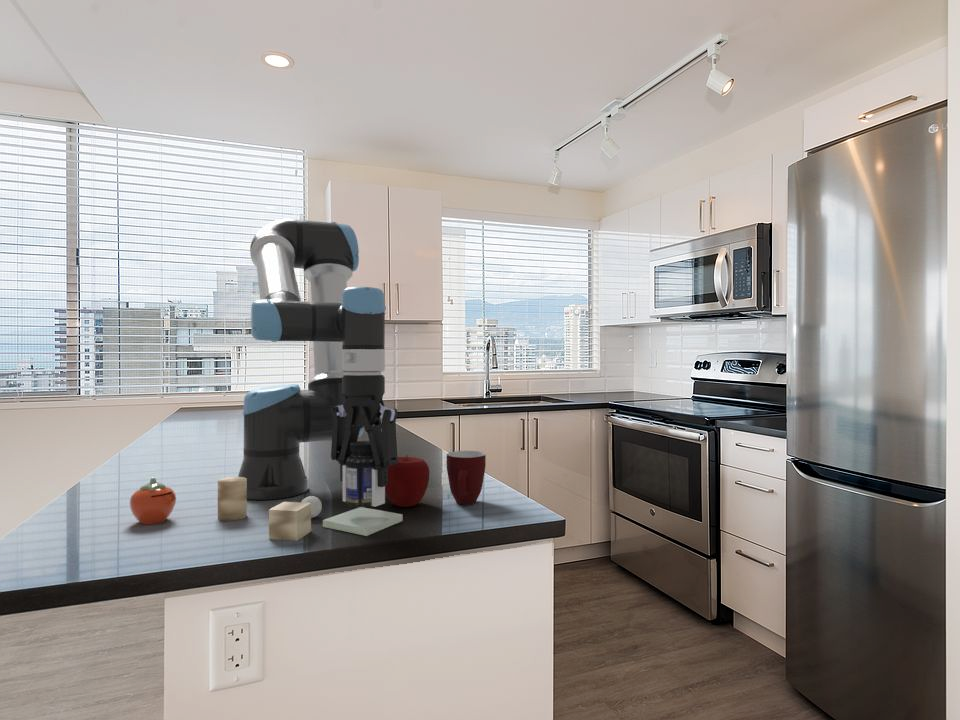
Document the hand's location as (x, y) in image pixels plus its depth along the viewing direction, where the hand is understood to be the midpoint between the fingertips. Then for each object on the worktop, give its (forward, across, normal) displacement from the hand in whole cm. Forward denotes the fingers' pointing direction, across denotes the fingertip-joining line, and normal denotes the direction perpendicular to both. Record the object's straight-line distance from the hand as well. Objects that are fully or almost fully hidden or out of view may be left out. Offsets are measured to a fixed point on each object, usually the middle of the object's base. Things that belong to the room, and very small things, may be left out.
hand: (363, 501), depth 104 cm
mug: (+4, +9, +21) cm, 23 cm away
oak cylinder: (+4, -24, -9) cm, 26 cm away
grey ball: (+4, -11, -2) cm, 12 cm away
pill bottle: (+1, 0, 0) cm, 1 cm away
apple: (+4, -1, +14) cm, 15 cm away
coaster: (+4, 0, 0) cm, 4 cm away
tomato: (+4, -34, -18) cm, 39 cm away
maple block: (+4, -7, -11) cm, 13 cm away
